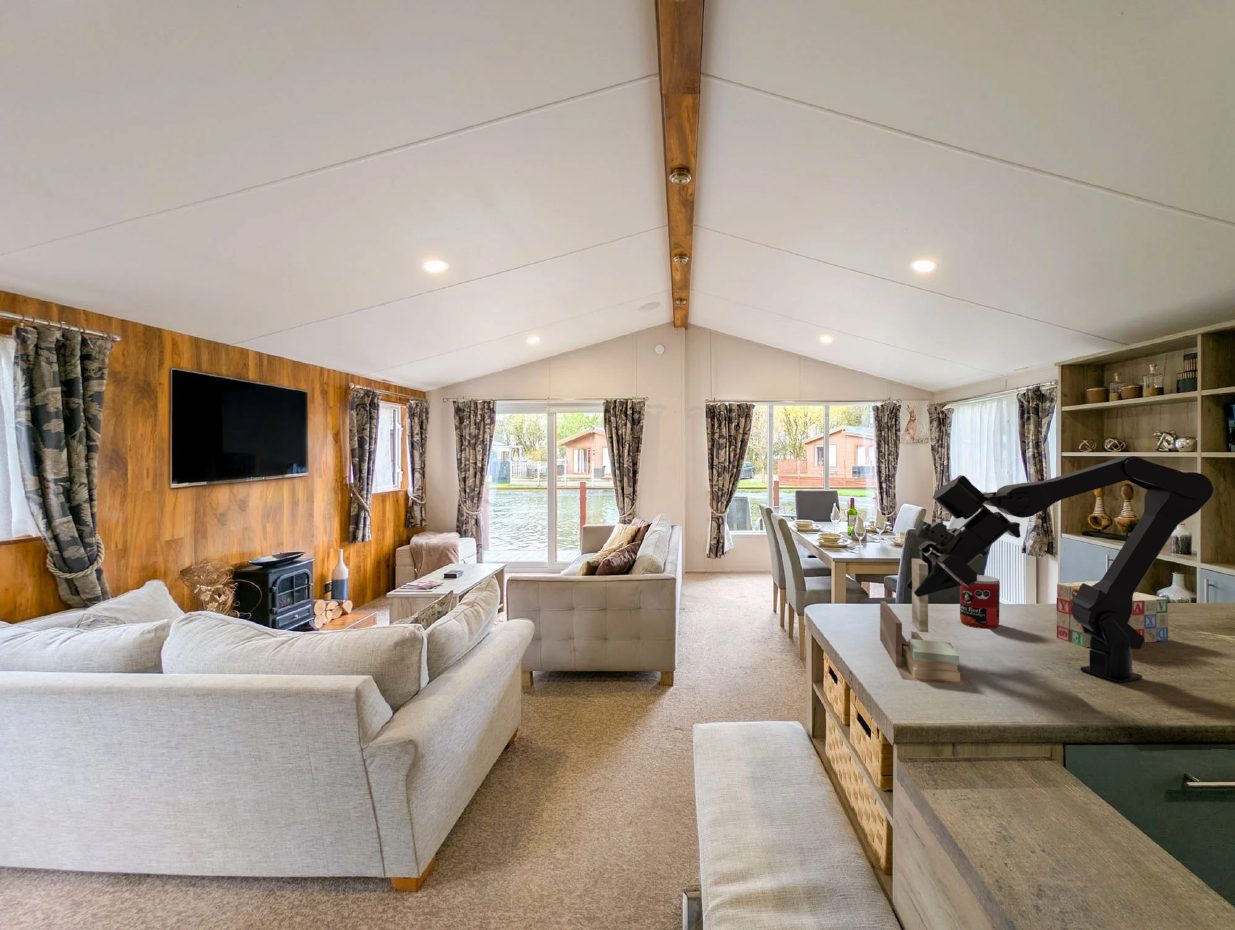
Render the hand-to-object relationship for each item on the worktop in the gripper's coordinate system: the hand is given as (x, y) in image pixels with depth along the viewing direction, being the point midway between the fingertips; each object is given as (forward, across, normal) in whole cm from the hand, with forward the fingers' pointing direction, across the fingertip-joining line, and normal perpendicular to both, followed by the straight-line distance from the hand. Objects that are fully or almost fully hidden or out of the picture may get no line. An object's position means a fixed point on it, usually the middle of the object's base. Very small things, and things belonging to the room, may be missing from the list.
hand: (912, 591), depth 112 cm
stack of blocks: (-21, -24, +41) cm, 52 cm away
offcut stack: (+8, +11, +9) cm, 16 cm away
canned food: (-5, -29, +24) cm, 38 cm away
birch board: (+4, 0, +6) cm, 7 cm away
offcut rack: (+9, +5, +10) cm, 14 cm away
